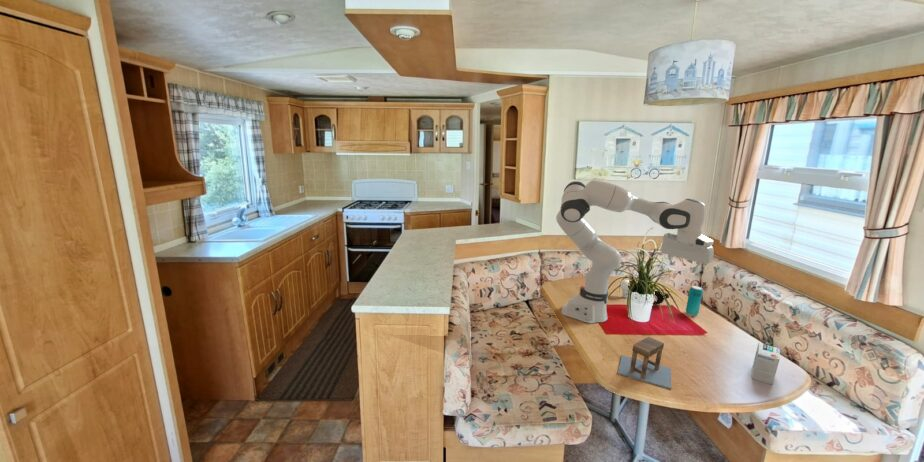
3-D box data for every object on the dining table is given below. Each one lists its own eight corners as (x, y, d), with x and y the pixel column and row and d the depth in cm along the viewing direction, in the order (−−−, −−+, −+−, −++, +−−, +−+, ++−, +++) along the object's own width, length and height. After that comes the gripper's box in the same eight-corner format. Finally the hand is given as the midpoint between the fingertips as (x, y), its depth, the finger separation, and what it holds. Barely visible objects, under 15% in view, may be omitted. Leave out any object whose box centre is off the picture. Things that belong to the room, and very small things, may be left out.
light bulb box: (752, 365, 151) (758, 341, 149) (773, 372, 147) (780, 348, 144) (750, 378, 143) (757, 352, 141) (773, 385, 139) (780, 359, 136)
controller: (648, 299, 213) (651, 282, 211) (668, 307, 202) (671, 290, 200) (643, 300, 211) (645, 283, 209) (663, 309, 201) (666, 291, 198)
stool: (648, 336, 148) (633, 344, 141) (664, 343, 143) (648, 352, 137) (644, 362, 150) (629, 371, 144) (659, 369, 146) (644, 379, 139)
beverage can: (699, 317, 192) (705, 290, 189) (687, 316, 193) (692, 288, 190) (695, 312, 198) (700, 285, 194) (683, 311, 199) (688, 284, 195)
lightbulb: (618, 298, 212) (621, 280, 210) (618, 294, 218) (620, 277, 215) (630, 300, 210) (633, 282, 208) (630, 296, 216) (632, 278, 213)
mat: (617, 373, 143) (617, 372, 143) (621, 356, 155) (621, 355, 155) (670, 389, 135) (671, 388, 135) (670, 369, 147) (670, 368, 147)
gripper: (660, 232, 165) (655, 262, 168) (711, 243, 149) (704, 276, 152) (667, 231, 169) (662, 260, 172) (718, 241, 152) (711, 273, 156)
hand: (683, 268), depth 162 cm, fingers open, 8 cm apart
